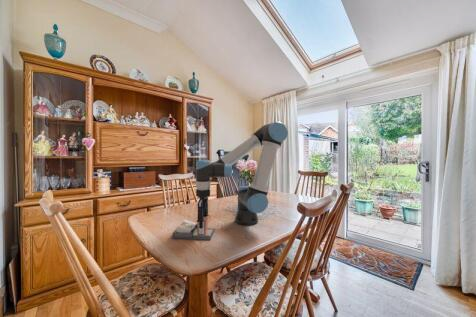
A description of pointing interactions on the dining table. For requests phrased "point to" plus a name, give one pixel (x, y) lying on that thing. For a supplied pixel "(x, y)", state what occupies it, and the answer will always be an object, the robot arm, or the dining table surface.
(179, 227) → the rocker
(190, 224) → the rocker
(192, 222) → the rocker
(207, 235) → the breaker panel
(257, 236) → the dining table surface
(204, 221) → the lockout cap
